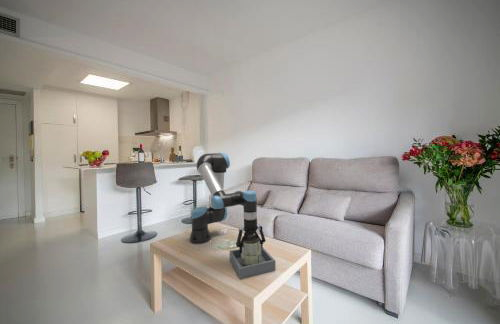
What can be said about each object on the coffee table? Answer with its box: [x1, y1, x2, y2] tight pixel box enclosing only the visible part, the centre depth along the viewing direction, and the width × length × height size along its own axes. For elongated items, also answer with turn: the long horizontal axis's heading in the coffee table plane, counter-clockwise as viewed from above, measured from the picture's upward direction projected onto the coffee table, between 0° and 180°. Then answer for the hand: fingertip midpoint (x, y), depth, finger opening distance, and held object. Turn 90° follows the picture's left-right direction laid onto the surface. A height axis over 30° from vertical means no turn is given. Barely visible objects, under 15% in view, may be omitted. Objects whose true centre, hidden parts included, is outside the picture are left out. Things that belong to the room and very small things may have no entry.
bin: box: [229, 247, 276, 280], centre depth 122 cm, size 20×20×6 cm
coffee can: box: [241, 234, 261, 266], centre depth 121 cm, size 10×10×14 cm
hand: (251, 255), depth 122 cm, fingers closed on coffee can, 10 cm apart
